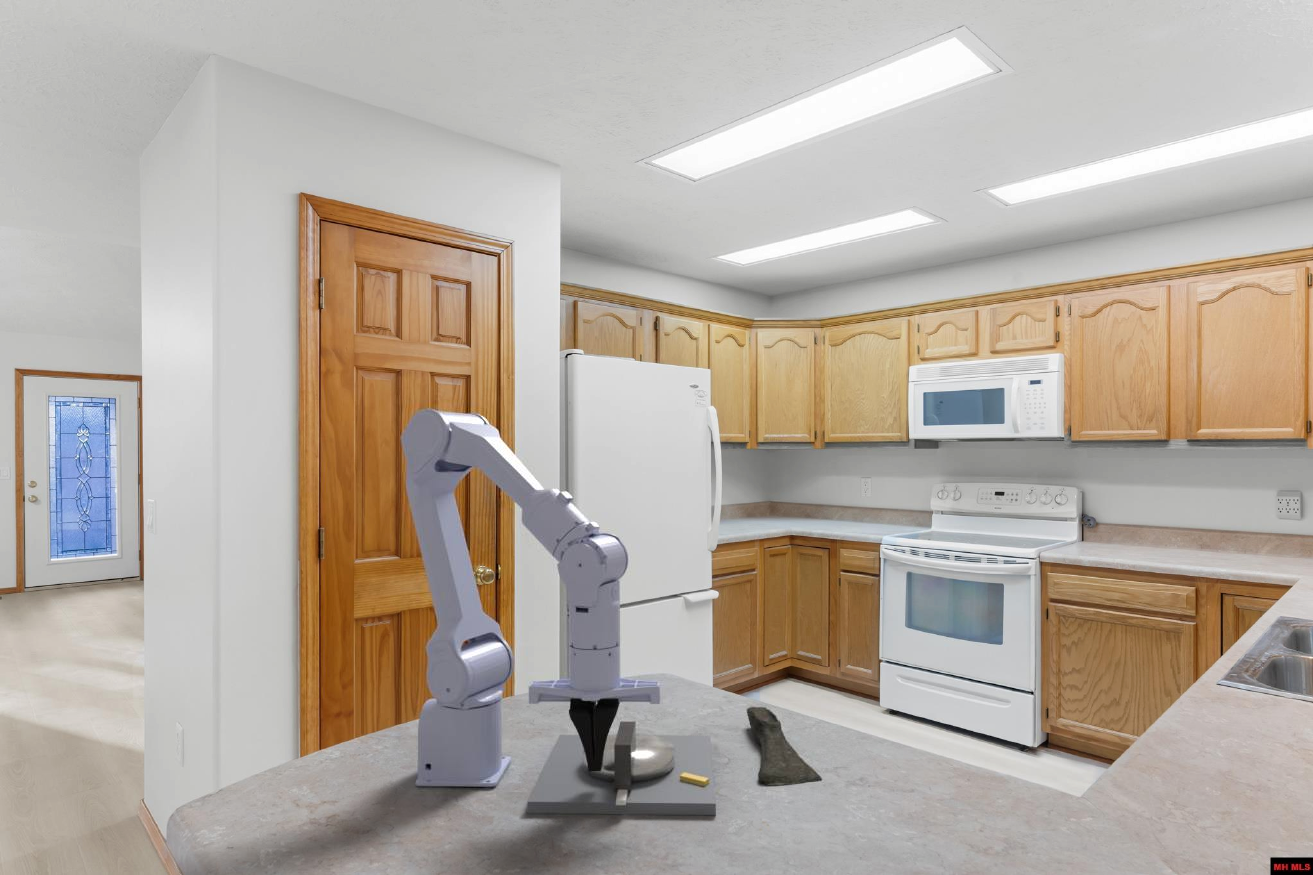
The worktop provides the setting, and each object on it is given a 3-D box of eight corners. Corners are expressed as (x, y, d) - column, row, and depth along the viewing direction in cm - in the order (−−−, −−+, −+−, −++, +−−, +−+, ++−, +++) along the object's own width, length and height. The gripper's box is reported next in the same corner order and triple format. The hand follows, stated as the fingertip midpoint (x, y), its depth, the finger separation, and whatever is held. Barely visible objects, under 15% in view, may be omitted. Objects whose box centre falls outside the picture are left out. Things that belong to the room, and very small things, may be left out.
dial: (588, 745, 95) (588, 705, 95) (675, 745, 94) (675, 705, 95) (572, 790, 81) (572, 744, 82) (673, 791, 81) (672, 745, 81)
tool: (824, 796, 87) (827, 770, 86) (759, 795, 86) (762, 769, 86) (777, 718, 107) (779, 697, 107) (725, 716, 106) (726, 695, 106)
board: (526, 815, 79) (526, 799, 79) (559, 743, 99) (559, 730, 99) (716, 817, 78) (715, 801, 78) (710, 744, 99) (710, 731, 99)
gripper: (522, 652, 80) (522, 782, 79) (657, 652, 79) (659, 783, 78) (535, 637, 87) (536, 756, 86) (660, 637, 86) (661, 757, 85)
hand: (595, 767), depth 83 cm, fingers closed
